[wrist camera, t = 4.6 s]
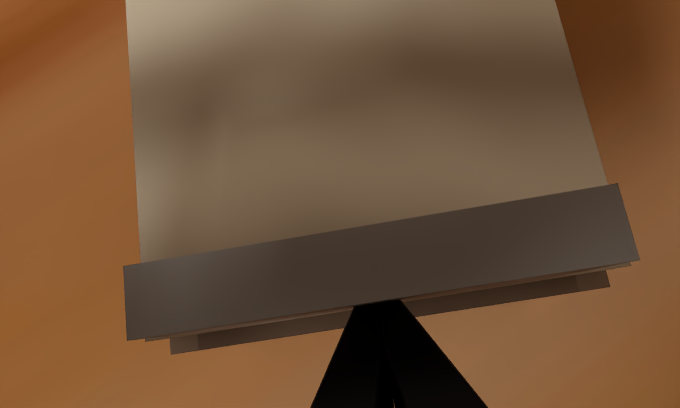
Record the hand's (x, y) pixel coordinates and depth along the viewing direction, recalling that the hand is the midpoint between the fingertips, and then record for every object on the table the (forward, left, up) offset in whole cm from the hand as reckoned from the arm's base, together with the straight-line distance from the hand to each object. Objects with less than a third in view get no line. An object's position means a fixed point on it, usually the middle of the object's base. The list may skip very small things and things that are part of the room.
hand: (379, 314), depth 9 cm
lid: (+5, +3, -3) cm, 7 cm away
